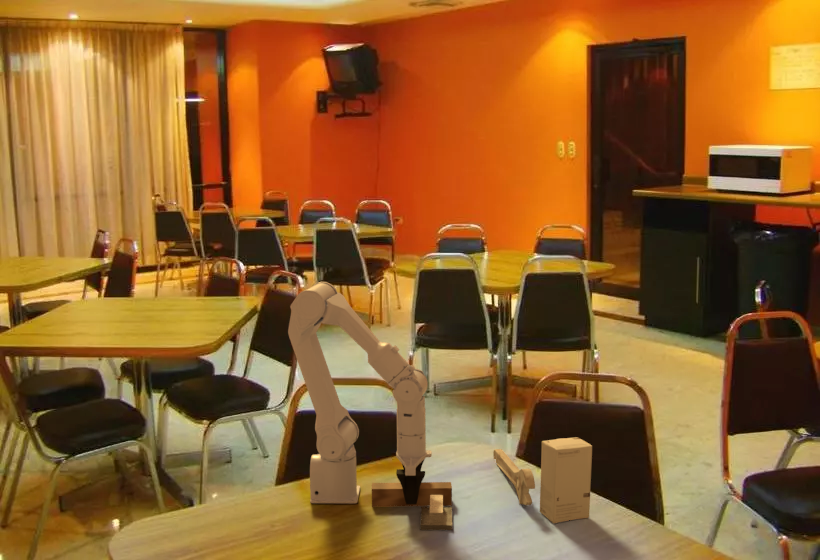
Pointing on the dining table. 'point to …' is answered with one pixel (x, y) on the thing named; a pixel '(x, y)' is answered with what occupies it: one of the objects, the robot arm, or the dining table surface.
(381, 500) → the walnut bar
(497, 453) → the wrench
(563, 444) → the skincare box
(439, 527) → the ridge
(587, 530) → the dining table surface
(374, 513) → the dining table surface
